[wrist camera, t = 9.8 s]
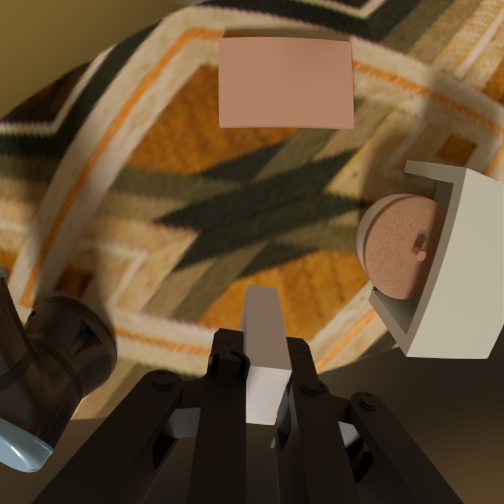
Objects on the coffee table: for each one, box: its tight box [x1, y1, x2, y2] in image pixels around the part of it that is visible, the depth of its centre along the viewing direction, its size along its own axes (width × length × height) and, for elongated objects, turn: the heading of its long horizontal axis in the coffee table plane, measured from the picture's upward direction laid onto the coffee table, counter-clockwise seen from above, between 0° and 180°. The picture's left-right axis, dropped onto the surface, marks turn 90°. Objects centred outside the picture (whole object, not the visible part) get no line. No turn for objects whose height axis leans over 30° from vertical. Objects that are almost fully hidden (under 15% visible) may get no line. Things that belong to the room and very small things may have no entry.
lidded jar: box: [356, 194, 447, 299], centre depth 32 cm, size 11×11×9 cm
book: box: [219, 37, 354, 130], centre depth 31 cm, size 14×10×2 cm
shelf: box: [369, 160, 504, 359], centre depth 31 cm, size 12×18×12 cm, turn 170°
